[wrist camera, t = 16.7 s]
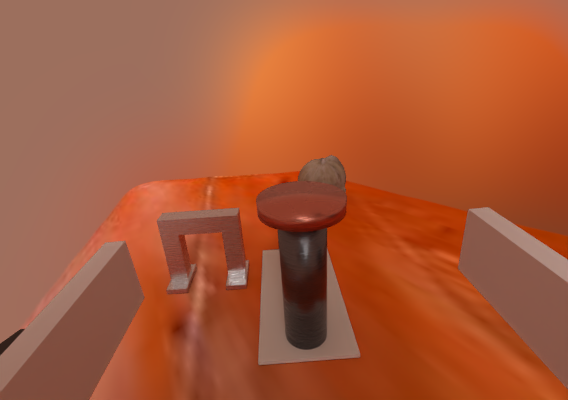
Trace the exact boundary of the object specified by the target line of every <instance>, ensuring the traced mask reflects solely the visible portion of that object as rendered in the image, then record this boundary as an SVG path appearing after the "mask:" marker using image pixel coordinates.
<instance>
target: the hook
mask: <svg viewBox="0 0 568 400" xmlns="http://www.w3.org/2000/svg"><path fill="white" fill-rule="evenodd" d="M256 202H257V212H258V218H259V219H260V221H261V222H262V223H264V224H265V225H267V226H269V227H272V228H274V229H278V239H279V252H280V266H281V280H282V293H283V307H284V320H285V334H286V338H287V340H288V342H289V343H290V344H291V345H292V346H294V347H296V348H299V349H303V350H310V349H315V348H317V347H319V346H320V345H322V344H323V343H324V342H325V340H326V338H327V228H328V227H331V226H333V225H335V224H337V223H339V222H340V221H341V220H342V219H343V218H344V217H345V215H346V202H347V196H346V193H345V192H344V191H343V190H342V189H340V188H338V187H336V186H334V185H331V184H327V183H322V182H314V181H296V182H287V183H282V184H278V185H275V186H272V187H269V188H267V189H265V190H264V191H262V192H261V193H260V194H259V195H258V196H257V199H256Z"/></svg>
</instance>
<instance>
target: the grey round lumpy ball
mask: <svg viewBox="0 0 568 400" xmlns="http://www.w3.org/2000/svg"><path fill="white" fill-rule="evenodd" d="M298 181H314V182H322V183H327V184H331V185H334V186H336V187H338V188H340V189H342V190H343V191H344V192H346V189H345V182H346V174H345V171H344V167H343V165H342V164H341V162H340V161H339V160H338V158H337V157H335V156H332V155H331V156H328V157H326V158H321V159H314V160H311V161H310V162H308V163H307V164H306V165H305V166H304V167H303V168H302V169H301V171H300V173H299V176H298Z"/></svg>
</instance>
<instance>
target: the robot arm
mask: <svg viewBox="0 0 568 400" xmlns="http://www.w3.org/2000/svg"><path fill="white" fill-rule="evenodd" d="M458 269H459V270H460V271H461V272H462V274H463V275H464V276H465V277H466V278H467V279H468V280H469V281H470V282H471V283H472V285H473V286H474V287H475V288H476V289H477V290H478V291H479V292H480V293H481V294H482V295H483V297H484V298H485V299H486V300H487V301H488V302H489V303H490V304H491V305H492V306H493V308H494V309H495V310H496V311H497V312H498V313H499V314H500V315H501V316H502V317H503V319H504V320H505V321H506V322H507V323H508V324H509V325H510V326H511V327H512V328H513V330H514V331H515V332H516V333H517V334H518V335H519V336H520V337H521V338H522V339H523V340H524V342H525V343H526V344H527V345H528V346H529V347H530V348H531V349H532V350H533V351H534V353H535V354H536V355H537V356H538V357H539V358H540V359H541V360H542V361H543V362H544V364H545V365H546V366H547V367H548V368H549V369H550V370H551V371H552V372H553V373H554V375H555V376H556V377H557V378H558V379H559V380H560V381H561V382H562V383H563V384H564V386H565V387H566V388H567V389H568V260H567V259H566V258H564V257H563V256H561V255H560V254H558V253H557V252H555V251H554V250H552V249H551V248H549V247H548V246H546V245H545V244H543V243H542V242H540V241H539V240H537V239H536V238H534V237H532V236H531V235H529V234H528V233H526V232H525V231H523V230H522V229H520V228H519V227H517V226H516V225H514V224H513V223H511V222H509V221H508V220H507V219H505V218H504V217H502V216H501V215H499V214H498V213H496V212H495V211H493V210H492V209H490V208H489V207H486V208H476V209H468V214H467V220H466V226H465V231H464V237H463V243H462V249H461V254H460V260H459V266H458ZM143 299H144V295H143V292H142V289H141V286H140V283H139V280H138V277H137V274H136V271H135V268H134V265H133V262H132V259H131V256H130V253H129V250H128V247H127V245H126V242H125V241H118V242H108V243H105V244H104V245H103V246H102V247H101V248H100V249H99V250H98V251H97V252H96V253H95V254H94V255H93V256H92V258H91V259H90V260H89V261H88V262H87V263H86V264H85V265H84V266H83V267H82V268H81V269H80V270H79V272H78V273H77V274H76V275H75V276H74V277H73V278H72V279H71V280H70V281H69V282H68V283H67V284H66V286H65V287H64V288H63V289H62V290H61V291H60V292H59V293H58V294H57V295H56V296H55V297H54V298H53V300H52V301H51V302H50V303H49V304H48V305H47V306H46V307H45V308H44V309H43V310H42V311H41V312H40V314H39V315H38V316H37V317H36V318H35V319H34V320H33V321H32V322H31V323H30V324H29V325H28V326H27V328H26V329H20V330H19V331H17V332H16V333H15V334H13V335H12V336H10V337H9V338H8V339H6V340H5V341H3V342H2V343H1V344H0V400H89V399H90V397H91V395H92V393H93V392H94V390H95V388H96V386H97V384H98V382H99V381H100V379H101V377H102V375H103V373H104V371H105V369H106V368H107V366H108V364H109V362H110V360H111V358H112V357H113V355H114V353H115V351H116V349H117V347H118V346H119V344H120V342H121V340H122V338H123V336H124V334H125V333H126V331H127V329H128V327H129V325H130V323H131V322H132V320H133V318H134V316H135V314H136V312H137V311H138V309H139V307H140V305H141V303H142V301H143Z"/></svg>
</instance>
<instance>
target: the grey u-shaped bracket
mask: <svg viewBox="0 0 568 400" xmlns="http://www.w3.org/2000/svg"><path fill="white" fill-rule="evenodd" d="M157 224H158V228H159V232H160V236H161V240H162V244H163V248H164V252H165V256H166V260H167V264H168V268H169V273H170V277H171V281H170V284H169V286H168V288H167V290H166V291H167V294H178V293H188V291H189V288H190V285H191V282H192V280H193V277H194V274H195V272H196V269H197V266H196V264H190V259H189V254H188V250H187V245H186V240H185V235H189V234H203V233H217V232H222V236H223V242H224V249H225V255H226V262H227V268H228V277H227V282H226V290H233V289H246V288H247V280H248V271H249V260H245V252H244V244H243V236H242V228H241V220H240V212H239V208H230V209H216V210H201V211H186V212H172V213H162V215H161V216H160V217H159V219H158V220H157Z"/></svg>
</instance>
